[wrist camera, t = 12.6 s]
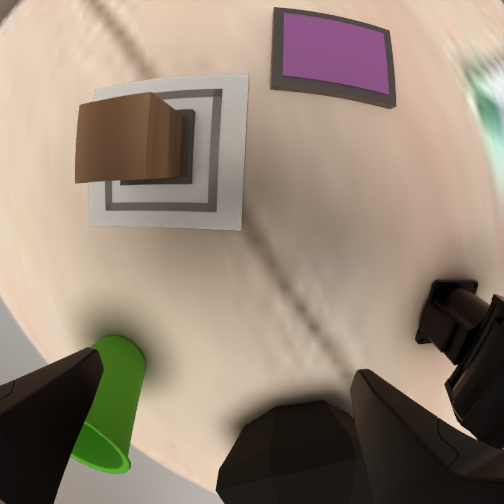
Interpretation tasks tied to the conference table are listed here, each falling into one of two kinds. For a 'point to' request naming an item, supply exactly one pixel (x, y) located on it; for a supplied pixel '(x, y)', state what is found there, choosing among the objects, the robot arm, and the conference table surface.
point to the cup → (112, 408)
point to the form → (204, 159)
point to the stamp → (134, 141)
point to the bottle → (297, 459)
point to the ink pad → (332, 57)
